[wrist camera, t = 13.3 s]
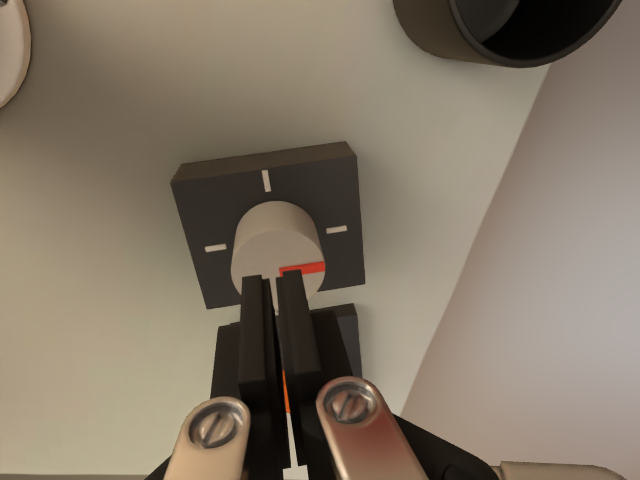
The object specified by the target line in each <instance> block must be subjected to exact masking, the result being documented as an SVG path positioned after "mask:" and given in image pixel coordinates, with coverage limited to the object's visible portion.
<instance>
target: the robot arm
mask: <svg viewBox="0 0 640 480" xmlns="http://www.w3.org/2000/svg"><path fill="white" fill-rule="evenodd" d="M30 51H31V34H30V28H29V21H28V15H27V12H26V9H25V6H24V3H23V0H8V2H7V3H6V2H5V0H0V108H1V107H2V106H4V105H5V104H6V103H7V102H8V101H9V100H10V99H11V98H12V97H13V96H14V95H15V94H16V93H17V91H18V89H19V87H20V86H21V84H22V82H23V80H24V78H25V76H26V72H27V69H28V65H29V61H30ZM282 274H283V276H282V277H275V279H276V290H277V300H278V311H279V322H280V332H281V343H282V354H283V364H284V374H285V382H286V389H287V395H288V402H289V409H290V415H291V422H292V429H293V436H294V442H295V449H296V456H297V462H298V466H303V465H307V470H308V477H309V480H626V479H625V478H624V477H622V476H621V475H619V474H617V473H615V472H613V471H611V470H609V469H607V468H603V467H598V466H594V465H574V464H551V463H531V462H510V461H509V462H507V461H501V464H500V466H489V465H488V464H487V463H485V462H484V461H482V460H481V459H479V458H478V457H476V456H474V455H472V454H470V453H469V452H466V451H464V450H463V449H461V448H459V447H457V446H455V445H453V444H451V443H449V442H447V441H445V440H443V439H441V438H439V437H437V436H435V435H433V434H432V433H430V432H428V431H426V430H424V429H422V428H420V427H418V426H416V425H414V424H412V423H410V422H408V421H406V420H404V419H402V418H400V417H399V416H397V415H395V414H393V413H391V411H390V409H389V407H388V405H387V404H386V402H385V400H384V398H383V396H382V395H381V393H380V391H379V390H378V389H377V388H376V386H375V385H373V384H372V383H370V382H369V381H368V380H365V379H362V378H359V377H354V376H353V373H352V369H351V366H350V362H349V359H348V355H347V352H346V349H345V345H344V342H343V338H342V335H341V331H340V328H339V324H338V321H337V318H336V314H335V311H334V310H328V311H321V312H314V313H310V312H309V307H308V302H307V297H306V292H305V287H304V282H303V277H302V272H301V269H296V270H289V271H282ZM286 468H291V460H290V449H289V438H288V426H287V415H286V404H285V393H284V382H283V370H282V360H281V351H280V345H279V338H278V331H277V325H276V318H275V311H274V305H273V298H272V291H271V285H270V279H269V278H267V279H262V275H261V274H260V275H252V276H245V277H242V289H241V315H240V323H239V324H232V325H226V326H219V328H218V333H217V342H216V351H215V360H214V369H213V378H212V387H211V396H210V400H207V401H205V402H203V403H201V404H200V405H198V406H197V407H195V408H194V409H193V410H192V411H191V412H190V413H189V414H188V416H187V417H186V419H185V421H184V422H183V424H182V427H181V430H180V432H179V435H178V438H177V441H176V444H175V447H174V450H173V453H172V455H171V456H170V457H169V458H168V459H166V460H165V461H164V462H163V463H162V464H161V465H160V466H159V467H158V468H157V469H155V470H154V471H153V472H152V473H151V474H150V475H149V476H148V477H147V478H146V479H144V480H283V469H286Z"/></svg>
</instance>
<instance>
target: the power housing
mask: <svg viewBox="0 0 640 480" xmlns="http://www.w3.org/2000/svg"><path fill="white" fill-rule="evenodd" d="M328 310H334V311H335V314H336V318H337V321H338V324H339V328H340V331H341V335H342V338H343V342H344V345H345V349H346V352H347V355H348V359H349V362H350V366H351V369H352V373H353V376H354V377H359V378H362V366H361V355H360V343H359V331H358V319H357V313H356V310H355V307H354V304H347V305H341V306H335V307H328V308H322V309H316V310H310V311H309V312H310V313H314V312H321V311H328ZM275 318H276V325H277V331H278V338H279V345H280V351H281V360H282V370H284V364H283V354H282V343H281V332H280V322H279V316H275ZM239 323H240V322H237V323H231V324H230V325H232V324H239ZM362 379H363V378H362ZM287 413H288V412H287Z"/></svg>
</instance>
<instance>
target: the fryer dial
mask: <svg viewBox="0 0 640 480" xmlns="http://www.w3.org/2000/svg"><path fill="white" fill-rule="evenodd" d="M296 269H301V272H302V277H303V282H304V287H305V292H306V297H307V300H308V299H310V298H311V297H312V296H313V295H314V294H315V293H316V292H317V290H318V289H319V287H320V286H321V284H322V282H323V279H324V275H325V261H324V257H323V253H322V249H321V246H320V242H319V238H318V234H317V231H316V227H315V224H314V222H313V220H312V219H311V217H310V216H309V215H308V214H307V213H306V212H305V211H304V210H303V209H302V208H300V207H298V206H297V205H294V204H292V203H289V202H284V201H269V202H265V203H262V204H259V205H257V206H255V207H253V208H252V209H250V210H249V211H248V212H247V213H246V214H245V215H244V216H243V217H242V219H241V220H240V222H239V224H238V226H237V230H236V235H235V242H234V250H233V257H232V264H231V276H232V280H233V283H234V285H235V287H236V289H237V291H238V292H239V293H240V294H241V289H242V277H245V276H252V275H260V274H261V275H262V279H267V278H269V279H270V285H271V291H272V298H273V305H274V310H278V300H277V290H276V279H275V277H282V276H283V274H282V271H289V270H296Z"/></svg>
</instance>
